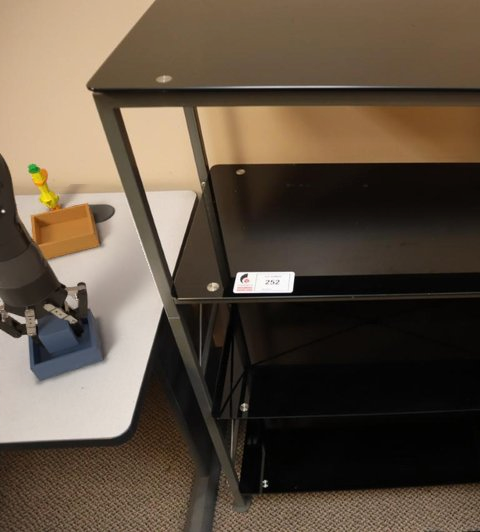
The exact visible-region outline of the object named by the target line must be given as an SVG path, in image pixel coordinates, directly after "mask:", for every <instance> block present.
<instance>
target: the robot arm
mask: <svg viewBox="0 0 480 532" xmlns="http://www.w3.org/2000/svg"><path fill="white" fill-rule="evenodd" d="M68 296H70V297H72V299H73V300H75V301H76V302H77V306H76V307H75V308H74V307H72V306H71V305H70V304H69V303H68V301H67V298H68ZM0 299H1V301H2V302H3V304H1V305H0V330H1V331H2V332H3V333H5V334H7V335H8V336H10V337H12V338H14V339H20V338H21V337H22V336H27V337H28V336H30V337H31V338H32V340H33V341H34V342H35V344H36V345H37V346H42V347H43V348H45V346H44V345H43V343H42V342H41V340H40V339H39V335H38V325H36V324H37V319H40V318H43V317H45V316H49V315H56V316H57V317H58V318H60V319H64V320H65V321H67V322H68V323H70V327H71V328H72V330H73V331H74V333H75V335H76V336H77V338H78V337H82V333H84V327H83V323H82V322H81V320H80V318H86V317H88V308H89V297H88V290H87V284H86V282H84V281H80V282H78V283H77V284H76V285H75V286H74V285H73V286H67V285H66V284H64V283H62V282H60V281H59V279H58V277H57V275H56V273H55V272H54V270H53V268H52V267H51V265H50V263H49V261H48V259H46V258H45V256H44V254H43V253H42V251H41V249H40V248H39V246H38V245H37V243H36V242H35V241H34V240H33V238H32V235H31V234H30V232H29V231H28V229H27V228H26V225H25V224H24V222H23V220H22V219H21V218H20V215H19V211H18V206H17V200H16V195H15V189H14V182H13V177H12V173H11V170H10V168H9V165H8V163H7V161H6V159H5V157H4V156H3V155H2V154H1V153H0ZM10 314H12V315H15V316H18V317H22V318H24V319H25V323H21V322H20V321H18V320H17V319H15V318H14V317H12V316H11V315H10Z"/></svg>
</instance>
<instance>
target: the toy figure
mask: <svg viewBox="0 0 480 532" xmlns="http://www.w3.org/2000/svg"><path fill="white" fill-rule="evenodd" d="M27 168H28V170H27V171H28V173H29V175H30V176H31V180H32V182H33V183H34V185H35V186H36V187H37V188H38V190H39V191H40V192H41V193H40V195H39V197H38V201H39V203H41V204H43V205H44V206H45V207H48V208H50V211H54V210H58V209H62V207H61V205H60V204H58V203H59V201H60V196H59V195H58V194H56V193H55V192H54V191H52V190H51V189H50V188H49V185H48V182H47V181H48V176H49V173H48V170H47V169H46V168H41V167H40V166H38V165H37V164H36V163H31V164H29V165H27Z"/></svg>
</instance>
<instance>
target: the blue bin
mask: <svg viewBox="0 0 480 532" xmlns="http://www.w3.org/2000/svg"><path fill="white" fill-rule="evenodd" d="M80 320H81V322H82V323H83V327H84V333H82V337H78V340H79V345H76V346H73V347H69V348H66V349H63V350H60V351H57V352H54V353H49V352H48V350H47V349H46V348H43V347H42V346H37V345H36V344H35V342H34V341H33V340H32V338H31V337H30V336H28V335H27V341H28V355H29V356H28V357H29V369H30V371H31V372H32V373H33V375H34V376H35V377H36V379H37V380H38V381H39V382H42V381H44V380H47V379H50V378H54V377H56V376H59V375H63V374H65V373H68V372H71V371H74V370H78V369H80V368H84V367H87V366H90V365H92V364H95V363H99V362H102V361H104V354H103V349H102V344H101V343H102V342H101V338H100V332H99V327H98V322H97V319H96V317H95V315H94V313H93V311H92V309H91V308H90V307H88V317H86V318H80ZM36 325H38V324H37V323H36Z"/></svg>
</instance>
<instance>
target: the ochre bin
mask: <svg viewBox="0 0 480 532" xmlns="http://www.w3.org/2000/svg"><path fill="white" fill-rule="evenodd" d="M30 226H31V238H32V239H33V240H34V241H35V242H36V243H37V245H38V246H39V248H40V249H41V251H42V253H43V254H44V256H45V258H46V260H49V259H53V258H57V257H61V256H65V255H69V254H73V253H76V252H77V253H78V252H82V251H84V250H85V251H86V250H89V249H93V248H98V247H101V246H100V239H99V235H98V230H97V225H96V220H95V215H94V213H93V211H92V209H91V207H90V205H89V202H86V203H81V204H77V205H73V206H68V207H63V208H61V209H58V210H54V211H51V210H49V211H46V212H45V211H44V212H41V213H36V214H31V215H30Z"/></svg>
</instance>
